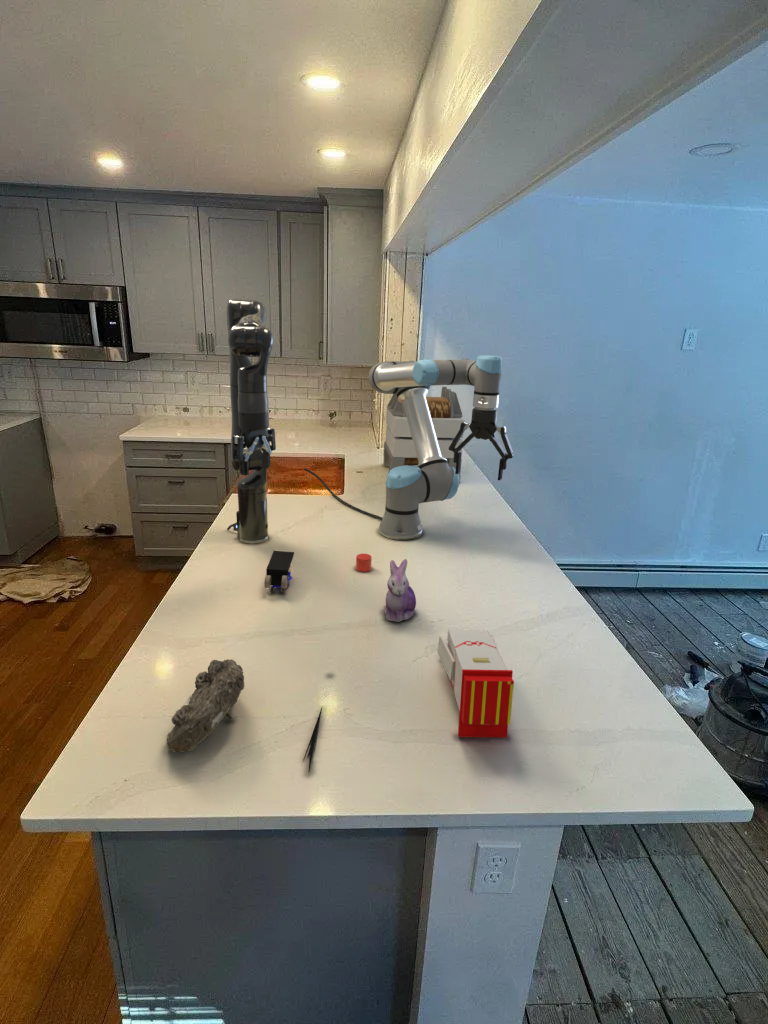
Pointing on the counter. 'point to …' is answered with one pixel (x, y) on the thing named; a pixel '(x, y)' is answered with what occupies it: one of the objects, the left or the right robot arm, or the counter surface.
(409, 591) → the figurine
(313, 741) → the feather
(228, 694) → the fossil
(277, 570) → the black rover
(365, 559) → the cylinder
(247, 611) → the counter surface
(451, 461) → the white wooden crate
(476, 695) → the toy
